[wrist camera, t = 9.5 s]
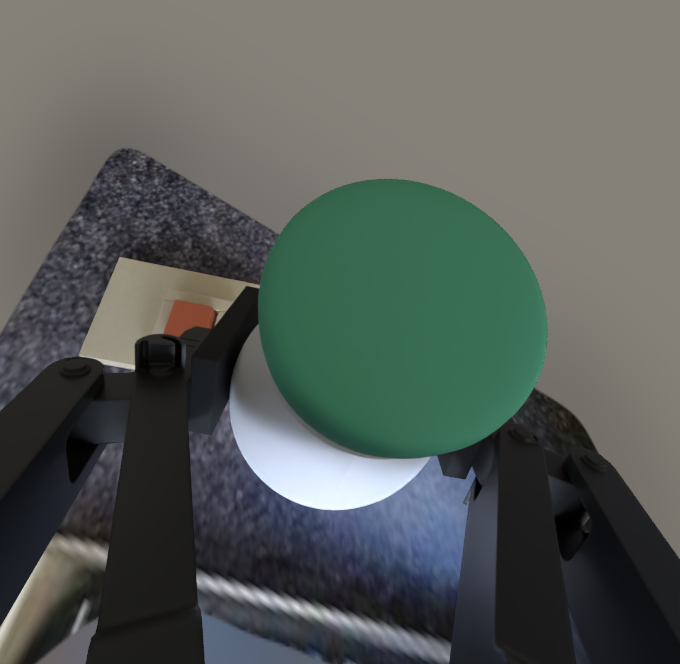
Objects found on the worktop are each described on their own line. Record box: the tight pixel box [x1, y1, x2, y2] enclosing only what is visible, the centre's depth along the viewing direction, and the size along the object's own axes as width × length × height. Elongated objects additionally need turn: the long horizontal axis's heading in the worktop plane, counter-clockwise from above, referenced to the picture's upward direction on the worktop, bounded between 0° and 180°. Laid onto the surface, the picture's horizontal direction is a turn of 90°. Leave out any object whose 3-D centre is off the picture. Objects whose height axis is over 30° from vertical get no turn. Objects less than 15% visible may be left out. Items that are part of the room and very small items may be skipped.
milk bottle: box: [229, 179, 548, 510], centre depth 15 cm, size 8×8×20 cm
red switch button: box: [163, 300, 216, 337], centre depth 33 cm, size 3×3×2 cm
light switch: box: [79, 257, 260, 370], centre depth 35 cm, size 14×10×4 cm
